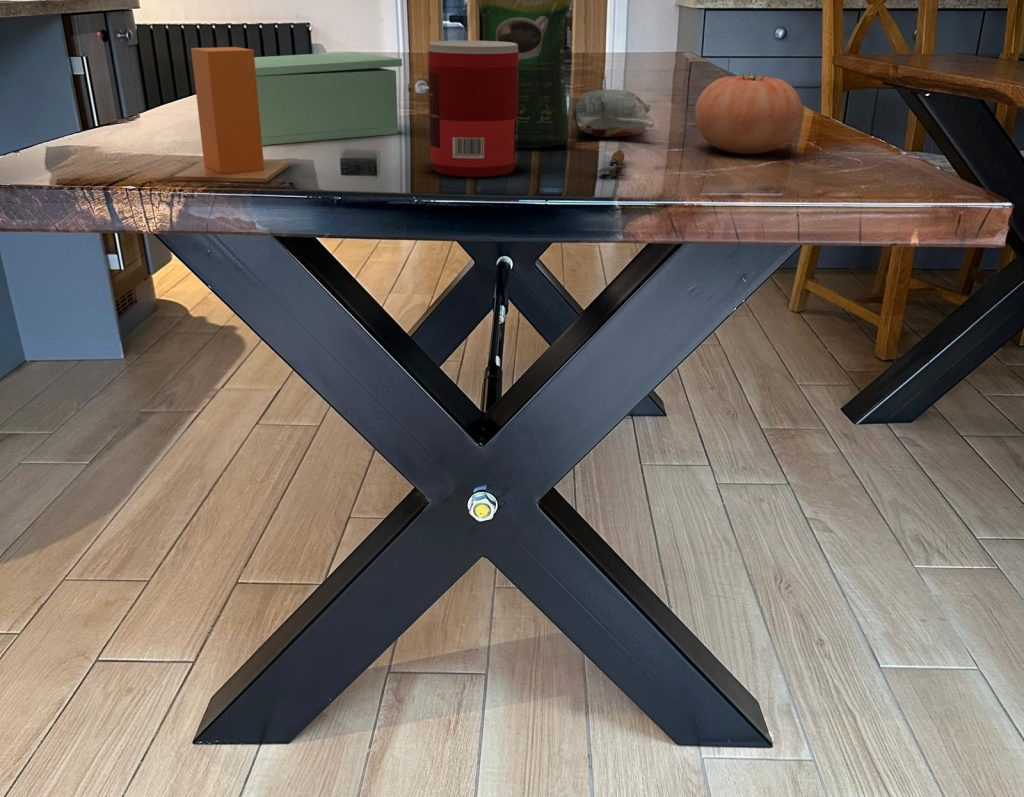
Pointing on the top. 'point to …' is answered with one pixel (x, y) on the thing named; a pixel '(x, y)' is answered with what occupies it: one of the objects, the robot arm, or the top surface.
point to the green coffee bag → (534, 64)
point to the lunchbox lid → (321, 63)
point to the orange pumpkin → (748, 113)
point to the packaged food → (612, 113)
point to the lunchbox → (327, 105)
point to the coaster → (206, 174)
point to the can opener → (614, 163)
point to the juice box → (228, 109)
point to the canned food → (473, 107)
